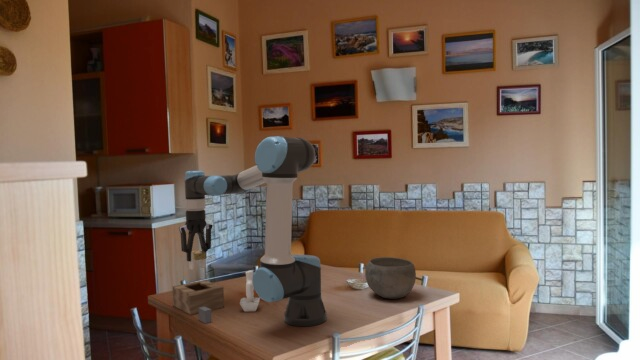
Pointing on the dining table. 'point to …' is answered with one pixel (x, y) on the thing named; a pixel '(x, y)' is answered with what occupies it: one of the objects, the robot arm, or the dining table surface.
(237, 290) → the dining table surface
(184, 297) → the brown wooden box
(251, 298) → the figurine
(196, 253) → the pale yellow block
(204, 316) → the stand
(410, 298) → the dining table surface
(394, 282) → the bowl
